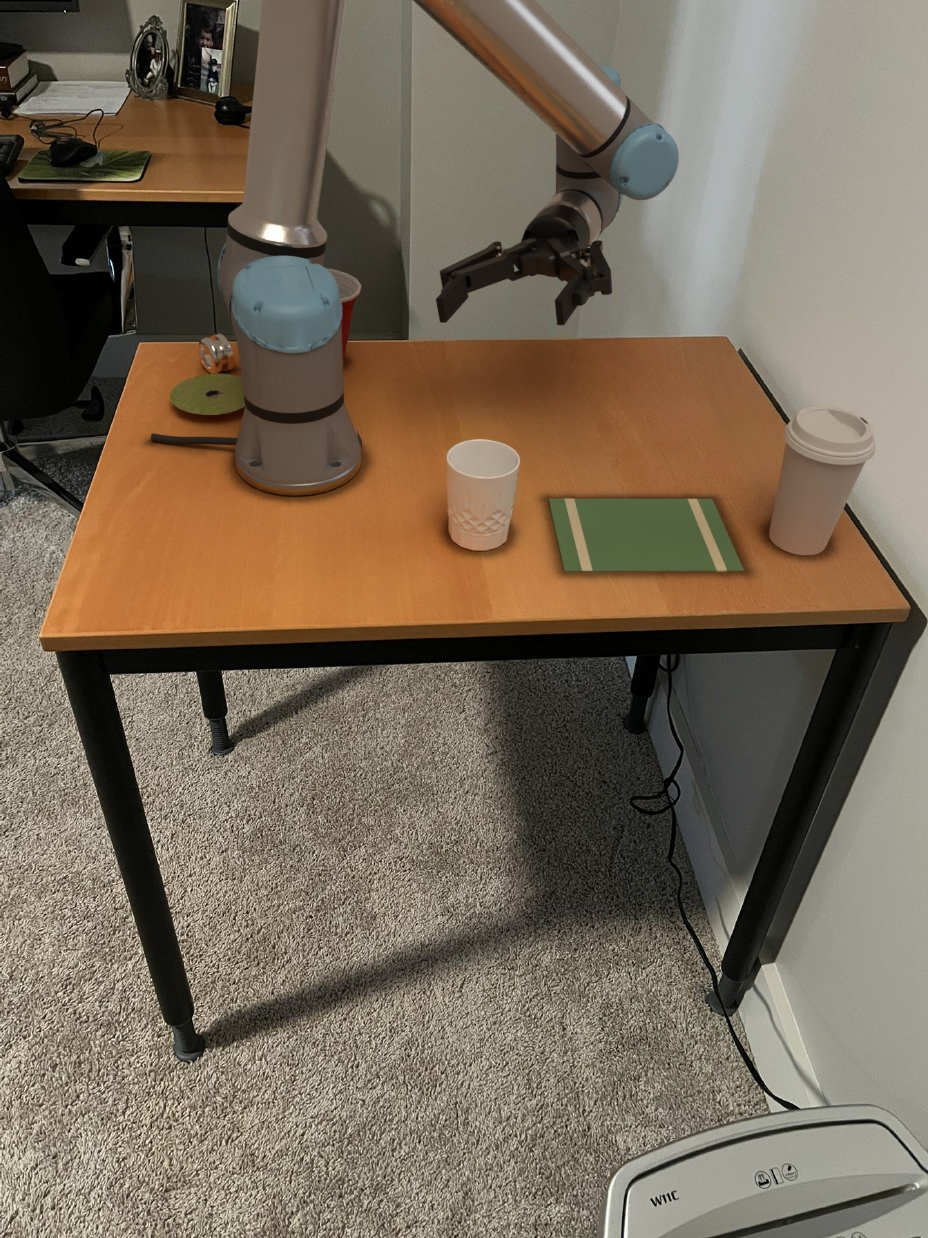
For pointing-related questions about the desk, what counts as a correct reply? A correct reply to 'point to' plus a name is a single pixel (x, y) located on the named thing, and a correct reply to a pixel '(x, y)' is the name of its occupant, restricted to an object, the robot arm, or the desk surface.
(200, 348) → the metal grooved wheel
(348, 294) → the plastic cup
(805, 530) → the coffee cup
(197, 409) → the green sanding disc
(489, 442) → the white cup
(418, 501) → the desk surface
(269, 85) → the robot arm
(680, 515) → the cloth
